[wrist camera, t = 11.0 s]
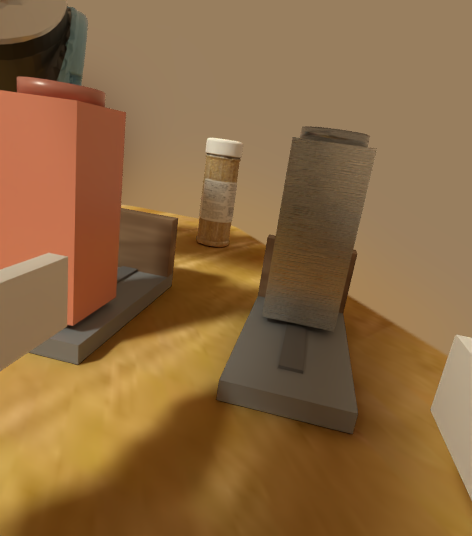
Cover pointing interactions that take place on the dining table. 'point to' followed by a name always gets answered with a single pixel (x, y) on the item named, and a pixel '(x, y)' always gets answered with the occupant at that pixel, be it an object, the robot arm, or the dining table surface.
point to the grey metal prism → (318, 225)
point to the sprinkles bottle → (218, 191)
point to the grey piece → (123, 285)
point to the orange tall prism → (62, 185)
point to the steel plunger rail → (292, 365)
